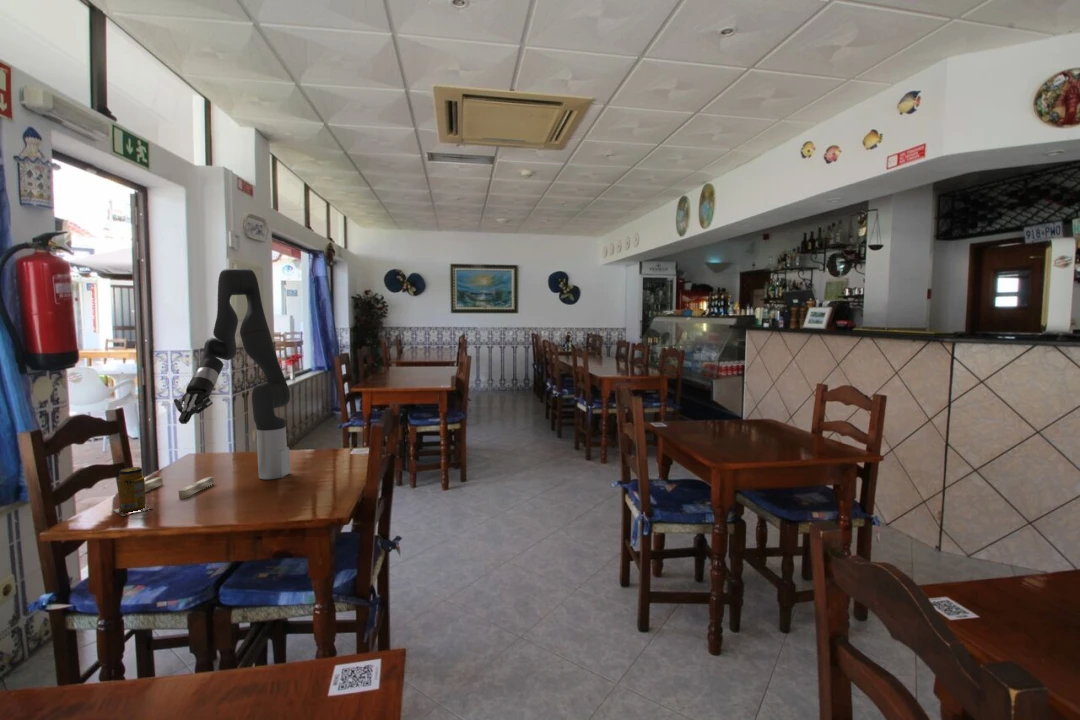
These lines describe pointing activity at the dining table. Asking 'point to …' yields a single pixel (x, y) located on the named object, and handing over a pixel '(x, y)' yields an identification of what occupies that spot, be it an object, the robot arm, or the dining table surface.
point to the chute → (185, 491)
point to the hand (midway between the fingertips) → (182, 422)
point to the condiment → (131, 490)
